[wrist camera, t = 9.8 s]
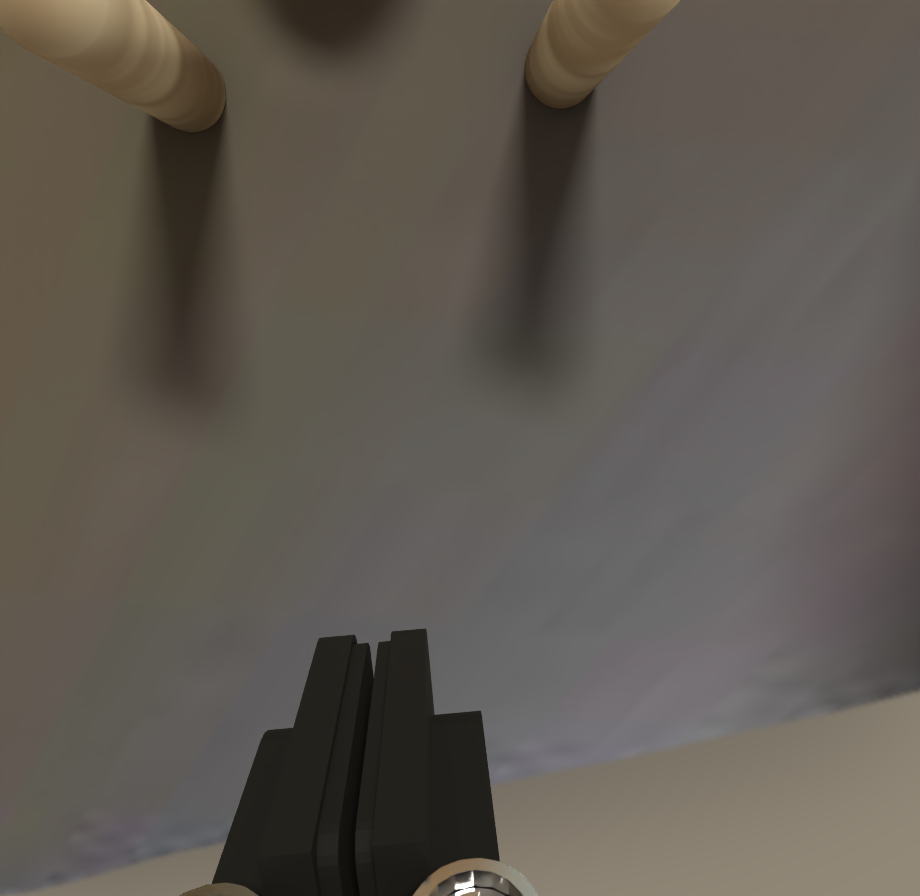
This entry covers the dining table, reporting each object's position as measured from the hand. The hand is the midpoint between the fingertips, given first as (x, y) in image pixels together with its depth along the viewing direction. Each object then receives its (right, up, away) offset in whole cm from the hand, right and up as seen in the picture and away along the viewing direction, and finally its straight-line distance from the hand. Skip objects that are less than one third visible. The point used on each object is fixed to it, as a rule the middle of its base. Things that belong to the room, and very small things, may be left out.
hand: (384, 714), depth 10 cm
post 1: (-8, +17, +13) cm, 22 cm away
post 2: (+5, +18, +13) cm, 22 cm away
